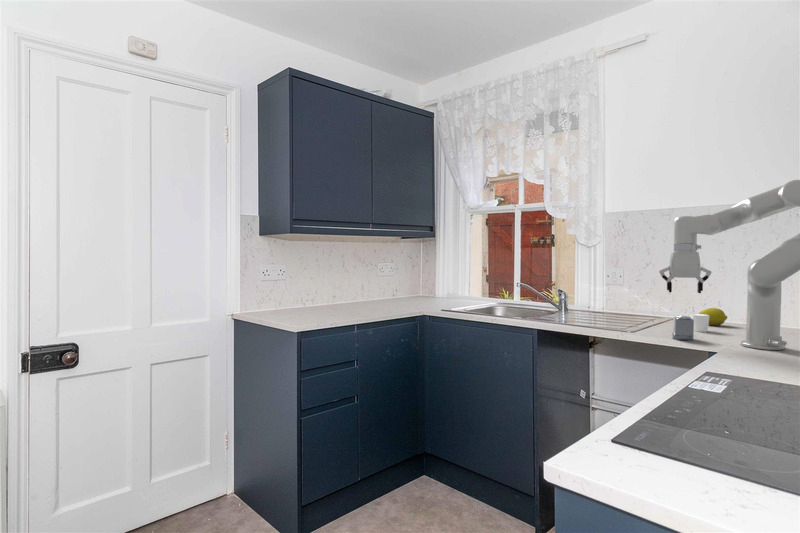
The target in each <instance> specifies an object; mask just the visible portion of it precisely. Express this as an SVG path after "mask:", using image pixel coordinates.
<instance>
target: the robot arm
mask: <svg viewBox="0 0 800 533" xmlns="http://www.w3.org/2000/svg"><path fill="white" fill-rule="evenodd" d="M797 207H800V179H795V180H794V179H793V180H790V181H788V182H786V183H784V184H783V185H781V186H778V187H776V188H773V189H770V190H767V191H765V192H762V193H759V194H756V195H753V196H751V197H748V198H746V199H743V200H742V201H740V202H739V203H737V204H735V205H734V206H731V207H728V208H727V209H724V210H721V211H718V212H715V213H713V214H704V215H703V214H702V215H695V216H692V215H689V216H688V215H685V216H684V215H683V216H677V217H675V219H674V221H673V251H671V252H670V257H669V265H668V266H667V267H664V268H662V269H659V271H658V272H659V274H660V276H661V278H662V279H663V280H664V281H666V290H667V291H668V293H672V291H673V290H672V289H673V287H672V286H673V284H672V280H674V278H679V279H680V278H682V279H684V278H686V279H688V278H689V279H690V278H692V279H693V278H694V279H696V280H697V281H698V282H697V289H696V290H697V293H698V294H701V293H702V292H703V290H704V288H703V287H704V282H706V281H707V280H708V279H709V278H710V276H711V274H712V273H713V272H712V271H711V270H709V269H707V268H705V267H703V266H701V257H700V252H699V251H698V250H699V249H700V250H701V249H702V245H700V244H698V243H697V242H698V235H706V236H714V235H716V234H719V233H723V232H725V231H728V230H730V229H734V228H736V227H739V226H741V225H746V224H749V223H753V222H757V221H759V220H762V219H765V218H768V217H771V216H774V215H776V214H779V213H783V212H785V211H788V210H792V209H794V208H797ZM701 271H702V272H704V273H705V275H704V276H702V277H701V273H702V272H701ZM666 272H669V273H668V274H669V276H668V277H667V275H666V274H665V273H666ZM797 272H800V232H799V233H797V234H796V235H794V236H793V237H791V238H789V239H787V240H784V241H783V242H782V243H781V244H780V245H779V246H778V247H776V248H775V249H773V250H772V251H770V252H769V253H767V254H766V255H764V256H763V257H761V258H758V259H756V260H754V261H753V262H751V264H750V265H749V266H748V267H747V276H746V277H747V279H746V280H747V293H746V294H747V296H746V297H747V298H746V300H747V301H746V328H745V330H746V331H745V332H746V333H745V339H742V340H741V341H740V345H742V346H744V347H747V348H750V349H751V348H752V349H758V350H766V351H767V350H771V351H783V350H785V349H786V346H787V344H788V343H787V341H785V340H783V339H782V338H783V337H782V336H781V321H782V320H781V319H782V318H781V317H782V315H781V314H782V313H781V312H782V282H783V281H786V280H787V279H788V278H789V277H792V276H793V275H795V274H796V273H797Z"/></svg>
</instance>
